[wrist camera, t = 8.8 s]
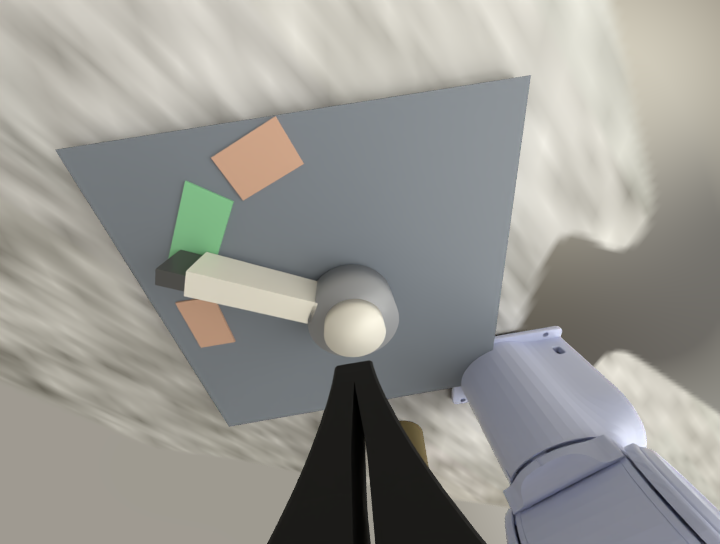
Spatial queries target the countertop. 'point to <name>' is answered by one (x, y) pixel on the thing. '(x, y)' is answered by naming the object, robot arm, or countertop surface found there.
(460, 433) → the countertop surface
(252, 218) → the board
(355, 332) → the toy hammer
